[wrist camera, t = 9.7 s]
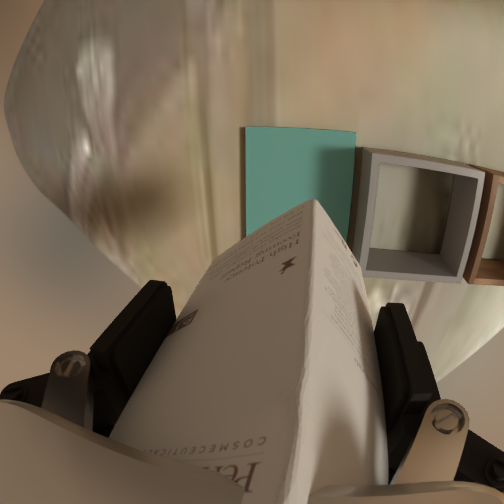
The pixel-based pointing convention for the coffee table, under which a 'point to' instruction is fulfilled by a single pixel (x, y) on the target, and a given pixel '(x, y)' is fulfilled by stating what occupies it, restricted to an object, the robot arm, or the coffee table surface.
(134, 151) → the coffee table surface
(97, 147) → the coffee table surface
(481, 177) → the grey bin
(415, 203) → the coffee table surface
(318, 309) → the skincare box
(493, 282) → the walnut bin
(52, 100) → the coffee table surface
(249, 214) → the teal pad
